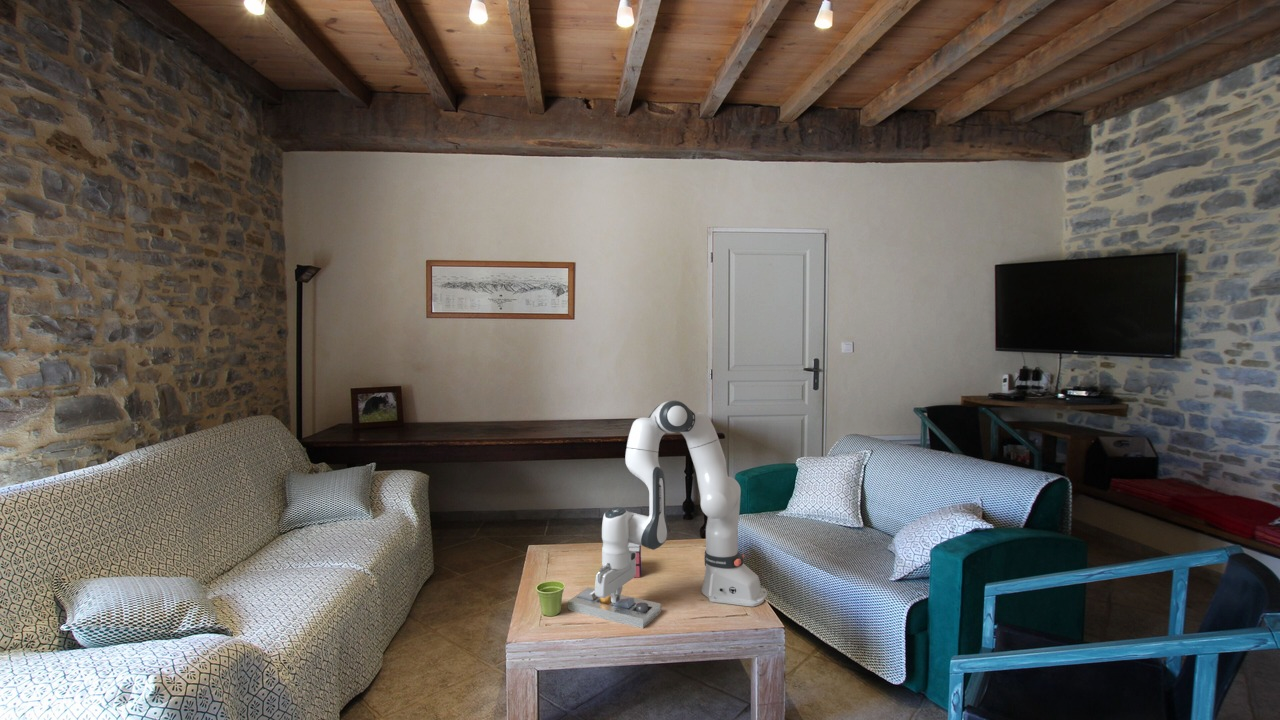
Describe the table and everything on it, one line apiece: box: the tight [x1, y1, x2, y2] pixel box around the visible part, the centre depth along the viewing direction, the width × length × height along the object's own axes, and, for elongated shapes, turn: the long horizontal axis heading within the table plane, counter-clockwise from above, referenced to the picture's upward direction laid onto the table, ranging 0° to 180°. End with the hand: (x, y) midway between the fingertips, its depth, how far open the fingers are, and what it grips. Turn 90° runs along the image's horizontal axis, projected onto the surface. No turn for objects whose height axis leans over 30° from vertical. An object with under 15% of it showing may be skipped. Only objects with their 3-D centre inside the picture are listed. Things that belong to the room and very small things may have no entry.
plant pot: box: [535, 580, 566, 617], centre depth 202 cm, size 9×9×9 cm
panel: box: [567, 587, 662, 629], centre depth 202 cm, size 28×12×3 cm, turn 61°
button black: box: [636, 603, 648, 614], centre depth 197 cm, size 4×4×4 cm
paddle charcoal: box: [578, 591, 597, 601], centre depth 207 cm, size 6×4×2 cm
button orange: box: [600, 595, 612, 605], centre depth 204 cm, size 4×4×4 cm
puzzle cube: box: [628, 542, 642, 579], centre depth 234 cm, size 10×10×10 cm
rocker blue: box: [613, 597, 635, 609], centre depth 200 cm, size 6×4×2 cm
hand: (615, 600), depth 202 cm, fingers closed, pressing on rocker blue
